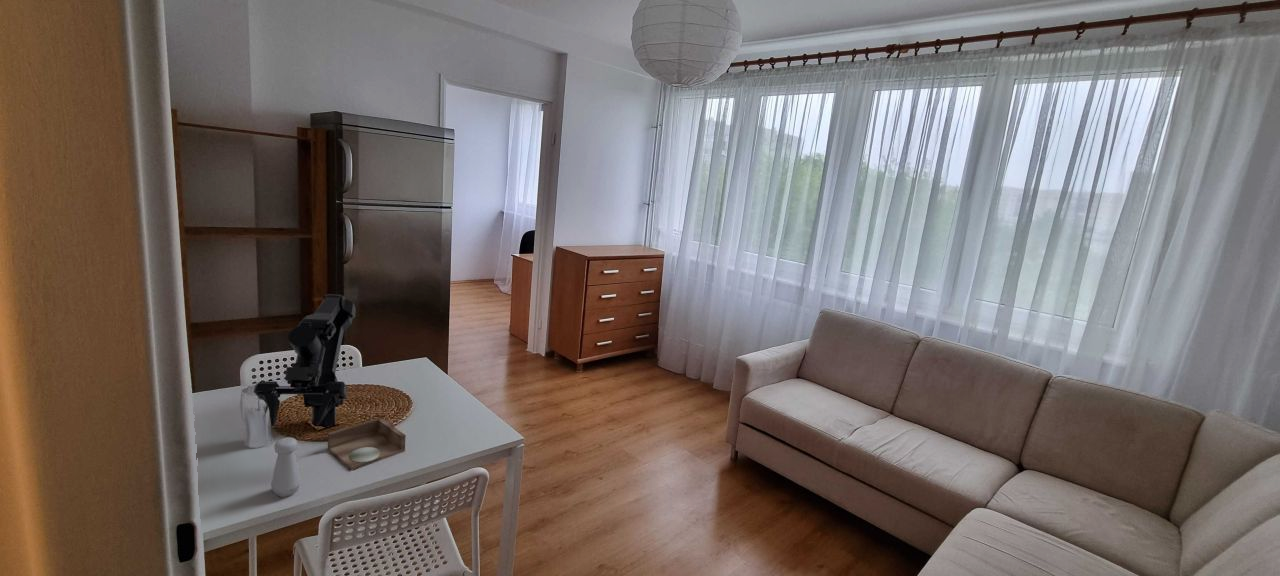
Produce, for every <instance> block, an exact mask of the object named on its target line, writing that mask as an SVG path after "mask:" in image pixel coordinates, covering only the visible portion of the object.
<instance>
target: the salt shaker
mask: <svg viewBox="0 0 1280 576" xmlns="http://www.w3.org/2000/svg"><path fill="white" fill-rule="evenodd" d="M298 444H299V443H298V441H297V439H296V438H294V437H282V438H280V439H279V440H277V441H276V442H275V443H274V445H273V446H274V451H275V453H276V454H277V457H276V460H275V465H274V466H275V467H274V470H273V474H272V479H271V483H270V487H271V490H272V492H273V493H274V494H275V496H277V497H280V498H285V497H289V496H290V497H291V496H293V495H295V494H296V493H297V491H298V490H299V488H300V486H301V484H302V476H301V472H300V468H299V464H298V459H297V456H296V450H297V449H298Z"/></svg>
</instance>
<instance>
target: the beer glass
mask: <svg viewBox="0 0 1280 576" xmlns="http://www.w3.org/2000/svg"><path fill="white" fill-rule="evenodd" d="M255 385H256V384H252V385H248V386H245V387H244V388H241V390H240V399H239V404H240V405H239V408H240V415H241V418H242V423H243V426H244V433H245V435H244V440H243V445H244V447H246V448H248V449H259V448H264V447H265V446H268V445H270V444H272V442H273V436H272V433H271V432H272V431H271V426H272V425H271V420H270V413H269V408H268V404H267V403H265V402H264V400H261V399H259V398H258V396H257V395H256V394H255V393H254V389H255Z"/></svg>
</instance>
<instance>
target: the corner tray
mask: <svg viewBox="0 0 1280 576" xmlns="http://www.w3.org/2000/svg"><path fill="white" fill-rule="evenodd" d="M327 450H328V451H329V453H331V454H332V455H333V456H335V457H336V458H337V459H338V460H339V461H340V462H341V463H342V464H343V465H344V466H346V467H347V468H348V469H349V470H350V471H354V470H357V469H359V468H362V467H365V466H368V465H371V464H374V463H377V462H379V461H381V460H384V459H387V458H389V457H392V456H396V455H398V453H399V454H401V453H404V452H405V451H406V434H405V433H403V432H402V431H400V430H399V429H398V428H397V427H395V426H394V425H392V424H391V423H389V422H388V421H387V420H385V419H384V418H383V417H377V418H374V419H373V418H372V419H371V420H367V421H363V422H360V423H356V424H354V425H350V426H347V427H344V428H339V429H337V430H333V431H331V432H327Z"/></svg>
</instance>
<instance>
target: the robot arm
mask: <svg viewBox="0 0 1280 576" xmlns="http://www.w3.org/2000/svg"><path fill="white" fill-rule="evenodd" d="M356 308H357V307H356V305H355V303H354V302H353V301H351V300H349V299H347V298H346V297H345V295H342V294H331V293H330V294H329V293H328V294H324V295H323V299H322V302H321V303H320V305H319V306H318V307H317V309H316V311H315V312H314V313H312V314H309V315H306V316H304V317H303V318H302V320H301V321H299V323H298V325H297V326H296V327H294V328H293V329H292V330H290V332H289V334H288V337H287V338H288V341H289V343H290V346H291V347H292V349H293V350H294V352H295V354H297V355H296V360H295V362H294V363H293V366H286V368H285V375H284V376H285V377H284V381H285V382H286V383H287V384H288V385H289V386H288V385H287V386H286V385H284V386H283V385H280V384H278V381H277V380H276V381H275V380H274V381H273V380H272V381H270V380H269V381H267V380H266V381H263V380H261V381H258V382H257V383H256V384H254V385H255V389H254V393H255V394H256V395H257V396H258V398H259V399H261V400H264V402H265V403H267V404H268V408H269V413H270V420H271V425H270V426H272V427H275V425H276V423H277V418H278V414H279V409H280V403H281V400H280V399H279V398H280V397H281V395H302V398H303V405H304V408H311V419H312V424H313V425H315V426H322V427H328V426H331V425H335V418H336V408H339V406H341V405H343V404H344V400H346V399H348V394H349V393H348V387H347V384H346V383H345V382H344V381H339V380H338V378H337V376H336V371H337V366H338V361H339V357H340V352H341V346H342V341H343V337H344V333H345V331H346V330H347V329H348V328H350V327H351V325H352V322H353V319H355V317H356V312H357V311H356ZM321 341H323V343H322V342H321ZM311 419H308V420H309V421H310V420H311ZM335 426H336V425H335ZM328 428H329V427H328Z"/></svg>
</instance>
